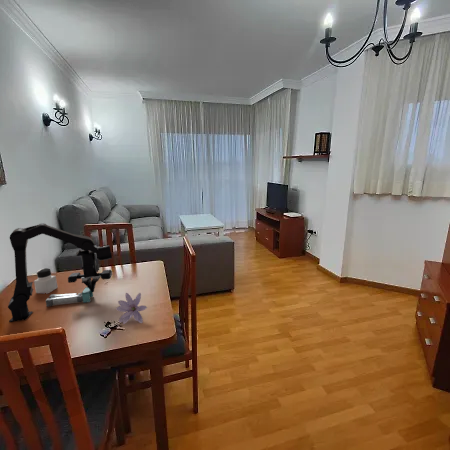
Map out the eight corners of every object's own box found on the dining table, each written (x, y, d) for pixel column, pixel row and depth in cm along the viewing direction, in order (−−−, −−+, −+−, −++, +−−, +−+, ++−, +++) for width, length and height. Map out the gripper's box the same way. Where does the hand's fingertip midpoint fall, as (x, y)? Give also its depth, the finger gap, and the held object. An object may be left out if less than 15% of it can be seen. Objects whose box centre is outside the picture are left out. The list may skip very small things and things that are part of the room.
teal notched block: (93, 296, 132) (91, 286, 131) (90, 301, 126) (88, 292, 125) (86, 296, 131) (85, 287, 130) (83, 302, 126) (81, 292, 124)
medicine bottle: (58, 287, 142) (54, 267, 140) (48, 293, 135) (44, 272, 133) (46, 287, 143) (42, 266, 140) (35, 293, 136) (31, 272, 133)
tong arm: (78, 298, 130) (77, 292, 129) (76, 300, 128) (75, 294, 127) (52, 299, 129) (51, 294, 128) (50, 302, 126) (49, 296, 126)
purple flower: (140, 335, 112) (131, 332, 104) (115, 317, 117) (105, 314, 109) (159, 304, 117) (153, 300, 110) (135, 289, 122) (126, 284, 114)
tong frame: (86, 298, 130) (85, 292, 129) (83, 302, 126) (82, 296, 125) (50, 302, 127) (49, 296, 126) (46, 306, 123) (45, 300, 122)
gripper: (112, 255, 134) (115, 282, 138) (73, 258, 130) (77, 286, 134) (108, 263, 124) (111, 292, 127) (65, 266, 120) (70, 297, 123)
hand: (92, 291), depth 128 cm, fingers closed
